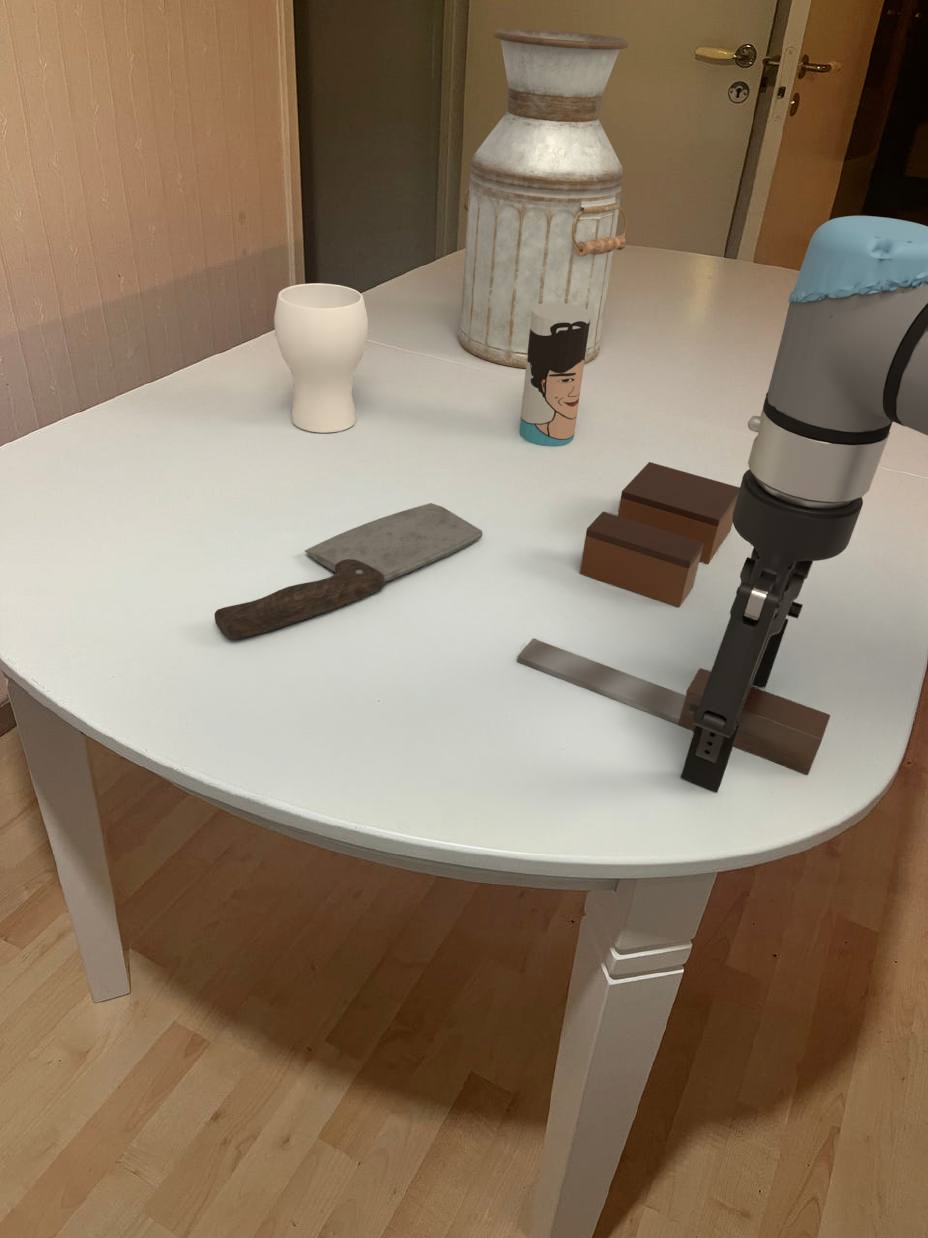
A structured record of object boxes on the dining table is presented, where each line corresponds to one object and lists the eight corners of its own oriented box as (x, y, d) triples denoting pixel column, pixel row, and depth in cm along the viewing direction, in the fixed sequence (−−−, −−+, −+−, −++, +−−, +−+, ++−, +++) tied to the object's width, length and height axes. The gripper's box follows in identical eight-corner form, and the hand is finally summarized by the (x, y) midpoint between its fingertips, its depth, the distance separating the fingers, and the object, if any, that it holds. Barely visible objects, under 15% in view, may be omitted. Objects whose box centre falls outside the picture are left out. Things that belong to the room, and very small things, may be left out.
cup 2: (541, 450, 110) (556, 324, 101) (508, 428, 114) (520, 306, 105) (585, 439, 113) (603, 316, 104) (551, 418, 117) (566, 299, 109)
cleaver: (248, 659, 74) (247, 638, 73) (180, 607, 79) (177, 586, 78) (492, 539, 93) (494, 521, 91) (423, 503, 98) (424, 485, 97)
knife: (817, 750, 70) (831, 714, 68) (807, 775, 68) (822, 739, 66) (532, 642, 79) (537, 608, 77) (516, 662, 76) (520, 627, 74)
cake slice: (692, 587, 87) (704, 542, 84) (679, 607, 85) (690, 561, 82) (595, 555, 91) (602, 510, 88) (579, 573, 88) (586, 528, 85)
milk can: (423, 331, 141) (434, 24, 118) (524, 310, 153) (553, 26, 130) (533, 384, 127) (571, 45, 103) (636, 356, 138) (690, 45, 115)
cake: (730, 530, 97) (742, 487, 94) (708, 564, 91) (719, 519, 88) (640, 503, 100) (649, 461, 98) (613, 534, 95) (621, 490, 92)
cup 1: (261, 420, 112) (252, 294, 103) (321, 395, 119) (318, 276, 110) (326, 446, 107) (323, 317, 98) (385, 419, 114) (387, 296, 105)
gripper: (790, 403, 69) (724, 630, 82) (687, 548, 51) (623, 810, 64) (894, 429, 66) (810, 659, 79) (824, 592, 48) (729, 857, 61)
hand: (726, 727), depth 71 cm, fingers open, 13 cm apart
